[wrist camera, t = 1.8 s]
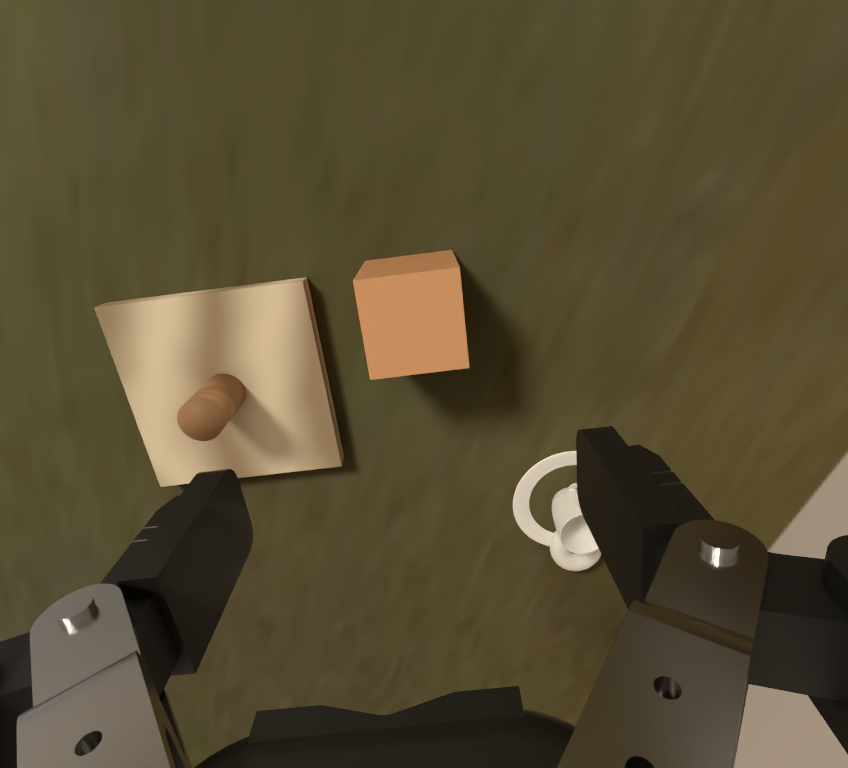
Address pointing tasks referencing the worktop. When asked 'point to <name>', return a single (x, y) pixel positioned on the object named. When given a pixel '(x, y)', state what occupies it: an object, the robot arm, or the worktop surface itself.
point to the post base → (238, 347)
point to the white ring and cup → (557, 517)
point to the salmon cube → (412, 314)
